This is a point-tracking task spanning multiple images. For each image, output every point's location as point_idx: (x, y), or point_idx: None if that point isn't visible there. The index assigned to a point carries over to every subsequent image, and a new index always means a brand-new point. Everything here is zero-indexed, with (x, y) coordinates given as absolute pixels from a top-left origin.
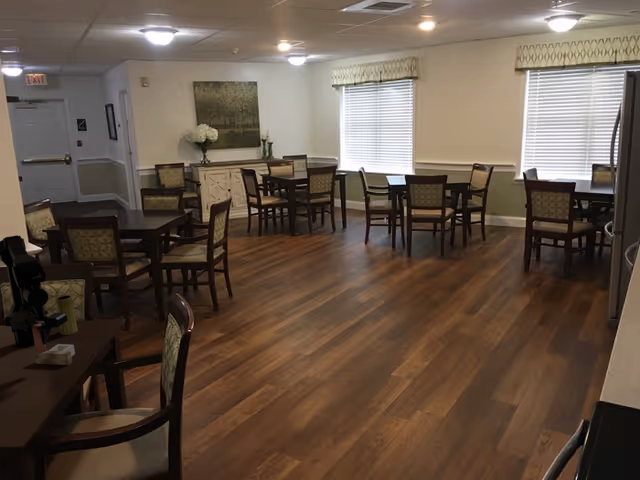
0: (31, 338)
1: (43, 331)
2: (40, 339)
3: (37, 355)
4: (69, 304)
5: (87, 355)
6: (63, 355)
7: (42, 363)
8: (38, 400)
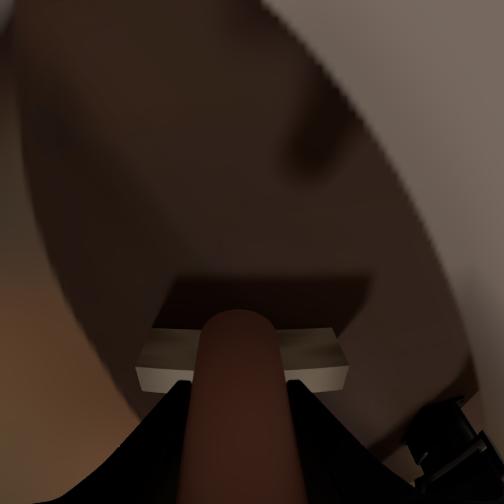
0: (320, 424)
1: (76, 500)
2: (193, 421)
3: (329, 356)
4: None
5: (141, 398)
6: (160, 362)
7: (298, 330)
8: (75, 10)
